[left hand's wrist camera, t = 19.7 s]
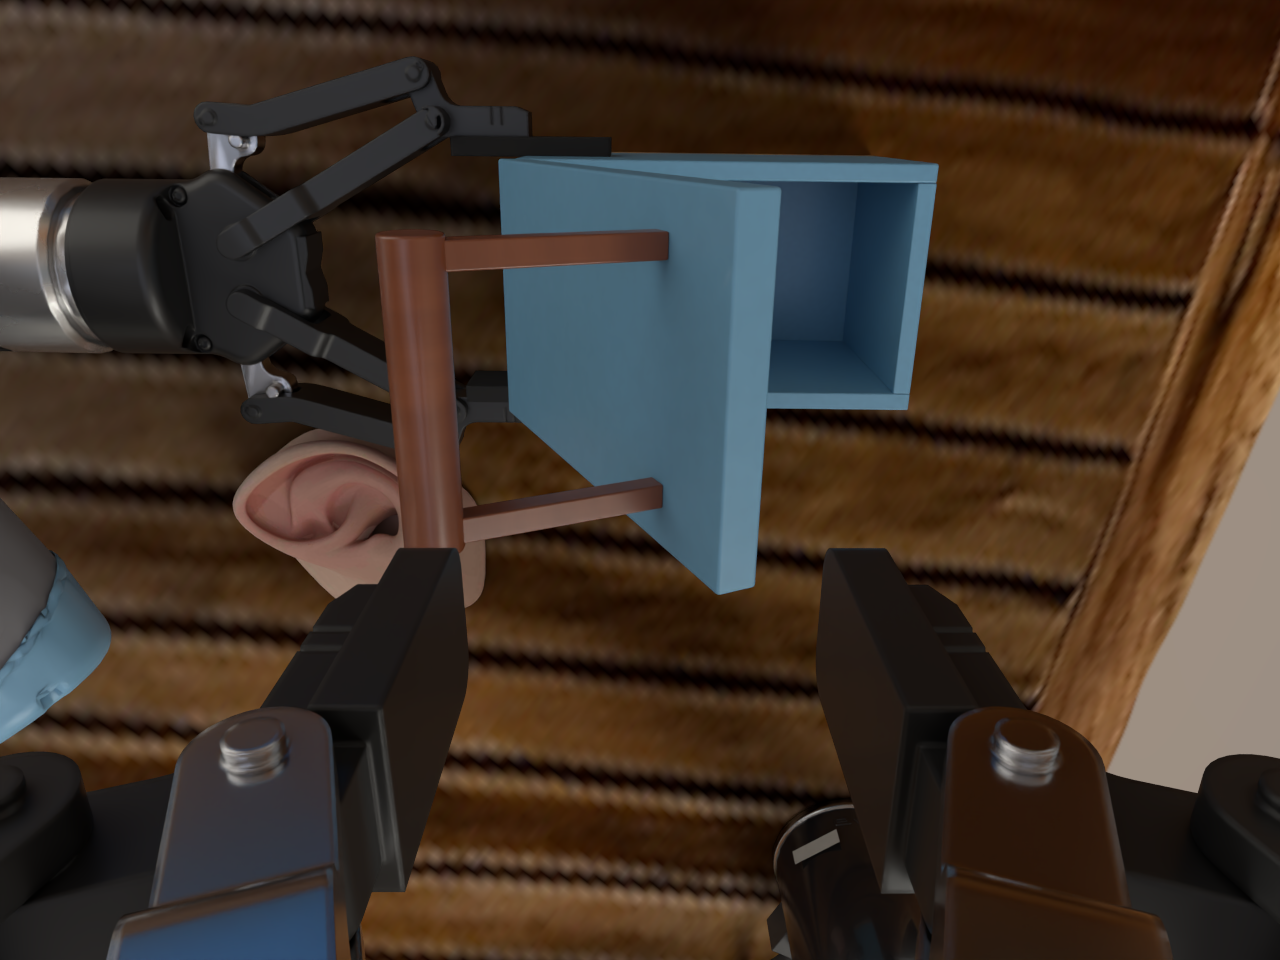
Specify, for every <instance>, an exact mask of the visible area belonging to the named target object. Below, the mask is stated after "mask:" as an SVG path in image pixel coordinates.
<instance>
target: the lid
mask: <svg viewBox="0 0 1280 960" xmlns="http://www.w3.org/2000/svg"><path fill="white" fill-rule="evenodd" d="M499 185H500V208H501V231H502V235H479V236H452V237H445V235H444V233H443V232H440V231H436V230H423V229H404V230H389V231H382V232H379V233H377V234H376V235H375V243H376V254H377V264H378V275H379V286H380V296H381V307H382V318H383V328H384V339H385V349H386V360H387V371H388V381H389V392H390V403H391V413H392V424H393V434H394V445H395V456H396V466H397V477H398V488H399V498H400V509H401V520H402V530H403V541H404V548H456V549H457V550H458V552H459V553H461V552H462V551H463V549H464V547H465V543H470V542H475V541H481V540H486V539H492V538H497V537H503V536H508V535H514V534H520V533H525V532H531V531H536V530H542V529H547V528H553V527H558V526H564V525H570V524H575V523H581V522H586V521H592V520H597V519H603V518H608V517H614V516H619V515H625V514H626V515H628V516H629V517H630V518H631V519H632V520H633V521H634V522H636V523H637V524H638V525H639V526H640V527H641V528H642V529H643V530H645V531H646V532H647V533H648V534H649V535H650V536H651V537H652V538H654V539H655V540H656V541H657V542H658V543H659V544H660V545H662V546H663V547H664V548H665V549H666V550H667V551H668V552H669V553H671V554H672V555H673V556H674V557H675V558H676V559H677V560H679V561H680V562H681V563H682V564H683V565H684V566H685V567H686V568H688V569H689V570H690V571H691V572H692V573H693V574H694V575H695V576H697V577H698V578H699V579H700V580H701V581H702V582H703V583H705V584H706V585H707V586H708V587H709V588H710V589H711V590H712V591H714V592H715V593H716V594H719V595H720V594H725V593H729V592H733V591H738V590H742V589H746V588H751V587H753V586H754V585H755V572H756V558H757V543H758V528H759V513H760V499H761V484H762V469H763V454H764V440H765V425H766V410H767V395H768V381H769V366H770V351H771V336H772V322H773V307H774V292H775V277H776V263H777V248H778V233H779V218H780V204H781V188H780V187H778V186H770V185H761V184H752V183H742V182H733V181H724V180H715V179H706V178H697V177H688V176H678V175H669V174H660V173H651V172H642V171H633V170H624V169H615V168H605V167H596V166H587V165H578V164H569V163H560V162H551V161H542V160H532V159H499ZM496 269H503V278H504V301H505V324H506V347H507V370H508V393H509V411H510V412H511V413H512V414H513V415H514V416H516V417H517V418H518V419H519V420H520V421H521V422H522V423H524V424H525V425H526V426H527V427H528V428H529V429H530V430H531V431H533V432H534V433H535V434H536V435H537V436H538V437H539V438H540V439H542V440H543V441H544V442H545V443H546V444H547V445H548V446H550V447H551V448H552V449H553V450H554V451H555V452H556V453H557V454H559V455H560V456H561V457H562V458H563V459H564V460H565V461H567V462H568V463H569V464H570V465H571V466H572V467H573V468H574V469H576V470H577V471H578V472H579V473H580V474H581V475H582V476H583V477H585V478H586V479H587V480H588V481H589V482H590V483H591V484H593V485H594V487H588V488H582V489H576V490H570V491H564V492H558V493H551V494H545V495H539V496H533V497H527V498H521V499H515V500H509V501H503V502H496V503H490V504H484V505H478V506H472V507H466V508H463V499H462V484H461V469H460V454H459V438H458V423H457V408H456V393H455V378H454V362H453V347H452V332H451V317H450V302H449V286H448V272H459V271H478V270H496Z"/></svg>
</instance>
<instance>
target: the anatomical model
mask: <svg viewBox="0 0 1280 960" xmlns="http://www.w3.org/2000/svg"><path fill="white" fill-rule="evenodd" d="M462 499H463V508H466V507H472V506H477V504H476V503H475V501H474V499H473V498H472V497H471V495H470V494H469V493H468V492H467V491H466V490H465V489H464V488H463V487H462ZM233 510H234V514H235V516H236V518H237V519H238V521H239V522H240V523H241V524H242V525H243V526H244V527H245V528H246V529H247V530H248V531H249V532H251V533H252V534H253V535H254V536H256V537H257V538H259V539H260V540H262V541H263V542H265V543H267V544H268V545H270V546H272V547H274V548H276V549H277V550H280V551H282V552H284V553H286V554H288V555H290V556H293V557H295V558H296V559H297V560H298V561H299V562H300V563H301V565H302V566H303V567H304V568H305V569H306V570H307V571H308V572H309V573H310V574H311V575H312V576H313V577H314V579H315V580H316V581H317V582H318V583H319V584H320V585H321V586H322V587H323V588H325V589H326V590H327V591H328V592H329V593H330V594H331V595H332V596H333V597H335V598H338V597H339V596H341V595H342V594H344V593H345V592H347V591H348V590H349V589H351V588H352V587H354V586H355V585H357V584H378V583H379V581H380V579H381V577H382V576H383V574H384V572H385V570H386V569H387V567H388V565H389V563H390V562H391V560H392V558H393V556H394V555H395V553H396V551H397V550H398V549H399V548H404V541H403V530H402V520H401V509H400V498H399V488H398V477H397V466H396V456H395V449H393V448H389V447H385V446H382V445H378V444H374V443H370V442H367V441H363V440H359V439H355V438H352V437H348V436H344V435H341V434H337V433H333V432H329V431H326V430H322V429H315V430H312V431H309V432H307V433H304V434H302V435H301V436H299V437H297V438H295V439H294V440H292V441H291V442H289V443H288V444H287V445H285V446H284V447H283V448H282V449H281V450H279V451H278V452H277V453H276V454H274V455H272V456H271V457H269V458H268V459H267V460H265V461H264V462H263V463H261V464H260V465H259V466H258V467H257V468H256V469H254V470H253V471H252V472H251V473H250V474H249V475H248V477H247V478H246V479H245V480H244V481H243V483H242V484H241V485H240V487H239V488H238V490H237V492H236V494H235V496H234V500H233ZM459 556H460V561H461V569H462V581H463V593H464V605H465V608H466V607H468V606H470V605H472V604H473V603H474V602H475V601H476V600H477V599H478V598H479V596H480V595H481V593H482V590H483V587H484V580H485V540H481V541H475V542H470V543H465V547H464V549H463V551H462V552H461V553H459Z"/></svg>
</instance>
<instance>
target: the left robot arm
mask: <svg viewBox="0 0 1280 960" xmlns="http://www.w3.org/2000/svg"><path fill="white" fill-rule="evenodd" d="M300 647H301V650H300V651H297V653H296V654H295V656H294V657H293V659H292V660H291V662H290V663H289V665H288V666H287V668H286V669H285V671H284V672H283V674H282V675H281V677H280V678H279V680H278V682H277V683H276V685H275V686H274V688H273V689H272V691H271V692H270V694H269V695H268V697H267V698H266V700H265V701H264V703H263V704H262V706H261V707H260V709H255V710H251V711H247V712H243V713H240V714H237V715H234V716H232V717H229V718H227V719H225V720H222V721H220V722H218V723H216V724H215V725H213V726H211V727H209V728H208V729H206V730H205V731H203V732H202V733H200V734H199V735H198V736H197V737H195V738H194V739H193V740H192V741H191V742H190V743H189V744H188V745H187V746H186V747H185V749H184V750H183V751H182V753H181V755H180V756H179V758H178V761H177V764H176V767H175V772H174V773H173V774H170V775H166V776H162V777H158V778H154V779H149V780H144V781H139V782H134V783H130V784H125V785H120V786H115V787H110V788H106V789H101V790H96V791H91V792H87V793H86V790H85V787H84V783H83V780H82V776H81V773H80V770H79V768H78V765H77V764H76V763H75V762H74V761H73V760H72V759H70V758H68V757H66V756H64V755H60V754H57V753H51V752H26V753H17V754H12V755H7V756H2V757H0V960H365V951H364V941H363V934H362V928H361V921H362V918H363V915H364V913H365V910H366V907H367V904H368V901H369V898H370V896H371V893H372V892H405V890H406V887H407V884H408V880H409V877H410V874H411V871H412V867H413V864H414V861H415V858H416V854H417V851H418V848H419V845H420V841H421V838H422V835H423V832H424V828H425V825H426V822H427V819H428V815H429V812H430V809H431V806H432V802H433V799H434V796H435V793H436V789H437V786H438V783H439V780H440V776H441V773H442V770H443V767H444V763H445V760H446V757H447V754H448V750H449V747H450V744H451V741H452V737H453V734H454V731H455V728H456V724H457V721H458V718H459V715H460V711H461V708H462V705H463V702H464V698H465V694H466V688H467V680H468V642H467V629H466V617H465V605H464V593H463V581H462V569H461V561H460V556H459V552H458V550H457V549H456V548H399V549H398V550H397V551H396V553H395V555H394V556H393V558H392V560H391V562H390V563H389V565H388V567H387V569H386V570H385V572H384V574H383V576H382V577H381V579H380V581H379V583H378V584H357V585H355V586H354V587H352V588H351V589H349V590H348V591H347V592H345V593H344V594H342V595H341V596H339V597H338V598H336V599H335V600H333V601H332V602H330V603H329V604H328V605H327V607H326V608H325V610H324V611H323V613H322V614H321V616H320V617H319V619H318V620H317V622H316V624H315V625H314V627H313V632H310V633H309V634H308V636H307V637H306V639H305V640H304V642H303V643H302V645H301V646H300ZM816 676H817V686H818V692H819V697H820V701H821V704H822V707H823V710H824V714H825V717H826V720H827V723H828V726H829V729H830V733H831V736H832V739H833V742H834V745H835V748H836V752H837V755H838V758H839V761H840V764H841V767H842V771H843V774H844V777H845V780H846V783H847V787H848V790H849V793H850V796H851V799H841V800H833V801H828V802H824V803H820V804H818V805H815V806H813V807H810V808H808V809H806V810H804V811H803V812H801V813H800V814H798V815H797V816H795V817H794V818H793V819H792V820H791V821H789V822H788V823H787V824H786V826H785V827H784V828H783V829H782V831H781V832H780V834H779V836H778V837H777V839H776V842H775V845H774V848H773V858H772V860H773V867H774V873H775V877H776V880H777V882H778V886H779V891H780V897H781V903H780V904H779V905H778V906H777V908H776V909H775V910H774V911H773V913H772V914H771V915H770V916H769V917H768V919H767V924H768V930H769V936H770V943H771V949H772V951H774V952H777V953H779V955H777V956H776V957H774V958H773V959H771V960H1280V759H1278V758H1274V757H1269V756H1262V755H1253V754H1238V755H1229V756H1225V757H1222V758H1218V759H1217V760H1215V761H1213V762H1211V763H1210V764H1209V765H1208V766H1207V767H1206V769H1205V771H1204V774H1203V777H1202V780H1201V784H1200V787H1199V791H1198V793H1194V792H1189V791H1184V790H1179V789H1174V788H1170V787H1165V786H1160V785H1155V784H1151V783H1146V782H1141V781H1136V780H1132V779H1128V778H1124V777H1120V776H1116V775H1113V774H1110V773H1107V772H1105V767H1104V764H1103V761H1102V758H1101V756H1100V755H1099V753H1098V751H1097V750H1096V749H1095V747H1094V746H1093V745H1092V744H1091V743H1090V742H1089V741H1088V740H1087V739H1086V738H1085V737H1083V736H1082V735H1081V734H1080V733H1078V732H1077V731H1075V730H1074V729H1072V728H1071V727H1069V726H1067V725H1065V724H1064V723H1062V722H1060V721H1058V720H1055V719H1053V718H1051V717H1048V716H1046V715H1043V714H1040V713H1037V712H1033V711H1029V710H1027V709H1026V708H1025V706H1024V705H1023V703H1022V702H1021V700H1020V699H1019V697H1018V696H1017V694H1016V693H1015V691H1014V690H1013V688H1012V687H1011V685H1010V684H1009V682H1008V681H1007V679H1006V678H1005V676H1004V675H1003V673H1002V672H1001V670H1000V669H999V667H998V666H997V664H996V663H995V661H994V660H993V658H992V657H991V655H990V654H989V652H985V646H984V645H983V643H982V642H981V640H980V639H979V637H978V636H977V634H976V633H973V632H972V627H971V625H970V624H969V622H968V621H967V619H966V618H965V616H964V615H963V613H962V612H961V610H960V609H959V607H958V606H957V604H955V603H954V602H952V601H951V600H949V599H948V598H946V597H945V596H943V595H942V594H940V593H939V592H937V591H936V590H935V589H933V588H932V587H930V586H929V585H908V584H907V583H906V581H905V579H904V578H903V576H902V574H901V572H900V571H899V569H898V567H897V566H896V564H895V562H894V561H893V559H892V557H891V555H890V554H889V552H888V551H887V550H886V549H885V548H829V549H828V550H827V552H826V555H825V559H824V566H823V576H822V588H821V600H820V612H819V624H818V636H817V647H816Z"/></svg>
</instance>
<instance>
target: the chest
mask: <svg viewBox="0 0 1280 960" xmlns="http://www.w3.org/2000/svg"><path fill="white" fill-rule="evenodd" d="M516 159H532V160H542V161H551V162H560V163H569V164H578V165H587V166H596V167H605V168H615V169H624V170H633V171H642V172H651V173H660V174H669V175H678V176H688V177H697V178H706V179H715V180H724V181H733V182H742V183H752V184H761V185H770V186H778V187H780V188H781V204H780V218H779V233H778V248H777V263H776V277H775V292H774V307H773V322H772V336H771V351H770V366H769V381H768V395H767V408H794V409H876V410H907V409H908V401H909V393H910V386H911V378H912V371H913V363H914V355H915V347H916V340H917V332H918V324H919V316H920V309H921V301H922V293H923V285H924V277H925V270H926V262H927V254H928V246H929V239H930V231H931V223H932V215H933V207H934V200H935V192H936V181H937V174H938V164H935V163H926V162H918V161H910V160H902V159H894V158H886V157H878V156H873V155H807V154H733V153H659V152H611V156H610V157H569V156H524V157H520V158H516Z"/></svg>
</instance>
